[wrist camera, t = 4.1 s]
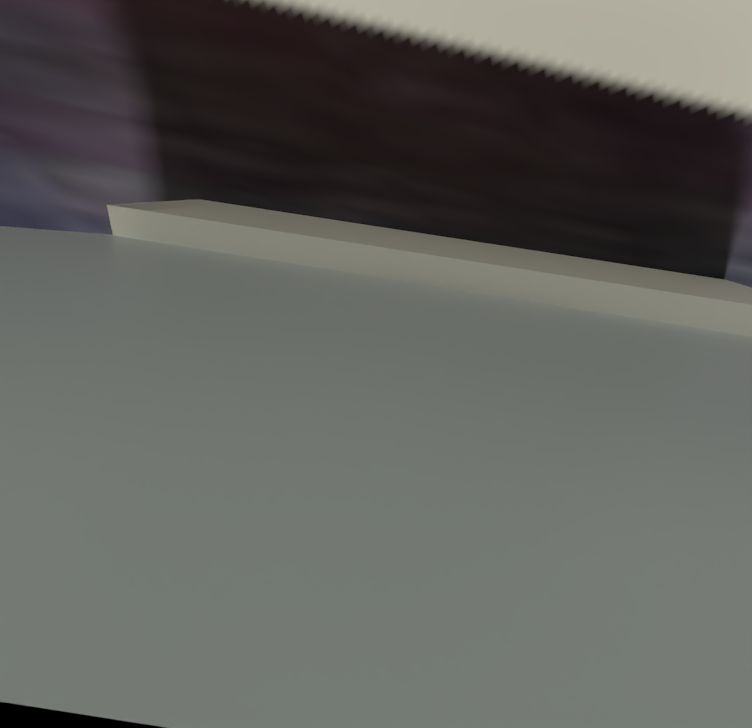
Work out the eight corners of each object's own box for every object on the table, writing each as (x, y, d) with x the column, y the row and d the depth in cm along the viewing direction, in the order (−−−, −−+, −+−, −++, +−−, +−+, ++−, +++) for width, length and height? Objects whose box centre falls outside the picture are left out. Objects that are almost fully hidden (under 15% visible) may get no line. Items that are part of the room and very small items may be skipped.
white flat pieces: (199, 199, 15) (106, 204, 11) (724, 279, 14) (864, 322, 10) (222, 438, 21) (169, 506, 17) (590, 504, 20) (637, 594, 16)
